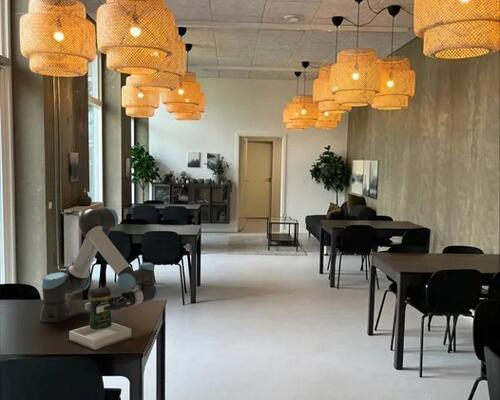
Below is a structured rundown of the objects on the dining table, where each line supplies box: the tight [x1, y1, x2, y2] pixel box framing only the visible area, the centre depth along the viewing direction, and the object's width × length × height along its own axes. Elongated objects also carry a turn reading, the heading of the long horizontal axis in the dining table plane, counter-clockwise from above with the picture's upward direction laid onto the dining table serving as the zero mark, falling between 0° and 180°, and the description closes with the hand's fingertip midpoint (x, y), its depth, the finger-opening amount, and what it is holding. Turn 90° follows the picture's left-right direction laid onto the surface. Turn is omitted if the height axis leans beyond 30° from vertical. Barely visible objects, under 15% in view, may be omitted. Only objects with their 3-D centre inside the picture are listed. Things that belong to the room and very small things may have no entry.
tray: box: [68, 322, 133, 351], centre depth 219 cm, size 20×20×4 cm
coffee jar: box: [88, 286, 113, 330], centre depth 218 cm, size 10×8×19 cm
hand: (91, 308), depth 214 cm, fingers closed on coffee jar, 8 cm apart
